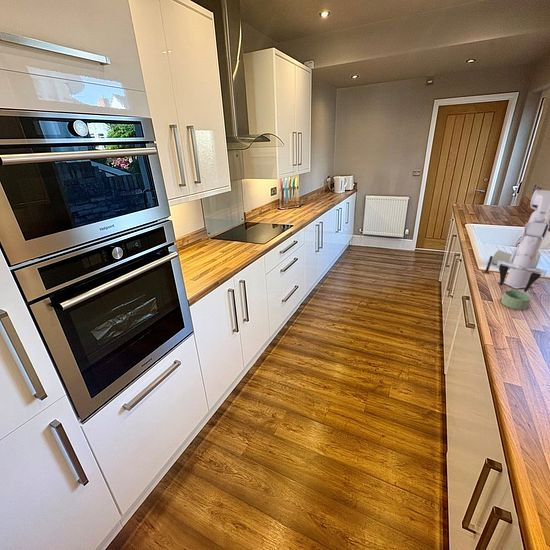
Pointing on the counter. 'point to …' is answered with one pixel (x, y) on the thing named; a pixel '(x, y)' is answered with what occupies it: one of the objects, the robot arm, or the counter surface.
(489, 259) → the muddler
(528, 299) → the bowl
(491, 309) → the counter surface
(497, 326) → the counter surface
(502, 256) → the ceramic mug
